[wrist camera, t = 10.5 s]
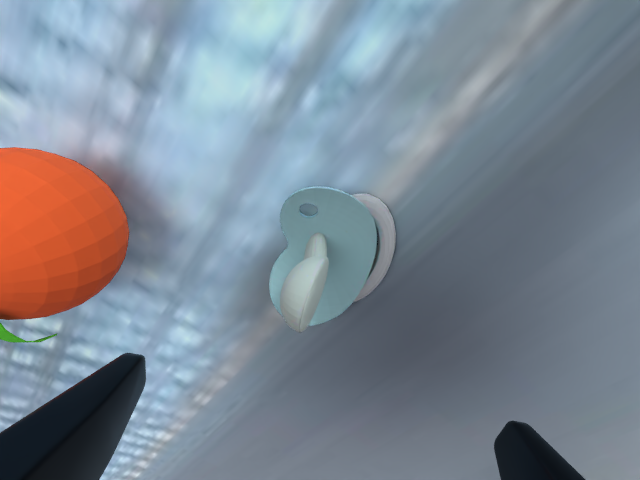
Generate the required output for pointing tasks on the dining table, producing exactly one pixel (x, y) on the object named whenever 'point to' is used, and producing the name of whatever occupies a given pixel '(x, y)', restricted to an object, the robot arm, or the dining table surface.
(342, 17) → the dining table surface
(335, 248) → the pacifier
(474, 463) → the dining table surface
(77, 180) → the clementine
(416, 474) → the dining table surface
